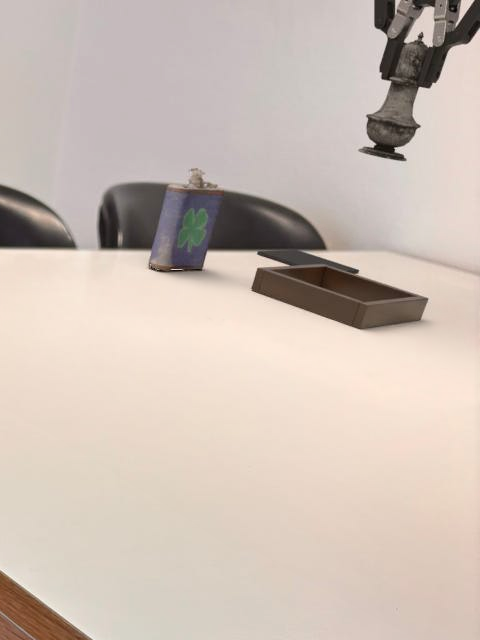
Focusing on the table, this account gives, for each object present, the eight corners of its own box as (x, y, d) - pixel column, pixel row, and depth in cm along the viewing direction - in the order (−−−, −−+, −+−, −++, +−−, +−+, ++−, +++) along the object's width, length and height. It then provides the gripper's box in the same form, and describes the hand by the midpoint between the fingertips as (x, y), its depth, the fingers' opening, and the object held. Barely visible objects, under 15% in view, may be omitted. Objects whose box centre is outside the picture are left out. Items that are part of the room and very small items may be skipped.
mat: (295, 252, 149) (296, 249, 148) (358, 273, 143) (359, 269, 143) (256, 254, 142) (257, 250, 142) (321, 275, 136) (322, 272, 136)
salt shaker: (357, 152, 115) (396, 25, 109) (353, 148, 120) (391, 26, 114) (411, 164, 114) (454, 37, 108) (406, 158, 119) (446, 37, 113)
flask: (159, 272, 120) (184, 170, 114) (139, 265, 122) (163, 164, 116) (208, 270, 126) (234, 173, 120) (188, 263, 128) (213, 167, 122)
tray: (316, 284, 131) (323, 263, 129) (420, 320, 123) (429, 298, 122) (250, 290, 120) (257, 267, 119) (359, 329, 113) (368, 305, 112)
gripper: (551, -98, 103) (481, 99, 112) (417, -110, 111) (362, 74, 120) (524, -113, 98) (453, 94, 107) (385, -125, 106) (329, 69, 115)
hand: (405, 82), depth 113 cm, fingers closed on salt shaker, 3 cm apart
